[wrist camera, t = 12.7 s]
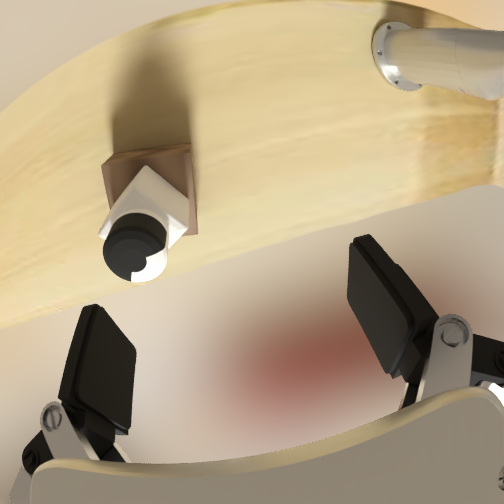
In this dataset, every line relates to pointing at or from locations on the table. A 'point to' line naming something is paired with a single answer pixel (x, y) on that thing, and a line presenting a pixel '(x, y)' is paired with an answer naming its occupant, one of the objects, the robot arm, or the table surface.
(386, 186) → the table surface
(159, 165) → the walnut box
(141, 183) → the medicine bottle
